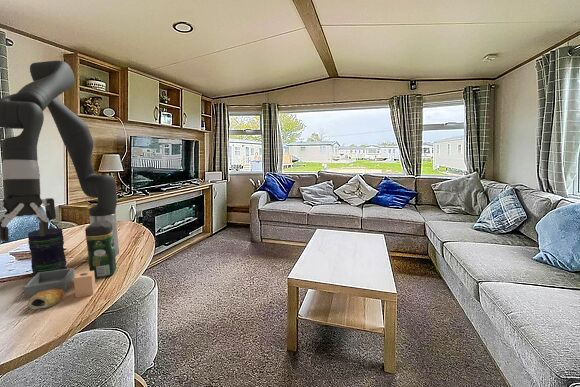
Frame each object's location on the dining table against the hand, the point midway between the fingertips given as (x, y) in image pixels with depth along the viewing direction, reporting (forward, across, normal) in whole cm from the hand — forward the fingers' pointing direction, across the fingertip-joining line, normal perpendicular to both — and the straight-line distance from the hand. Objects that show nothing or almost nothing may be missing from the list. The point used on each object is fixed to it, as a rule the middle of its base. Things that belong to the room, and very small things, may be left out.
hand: (24, 238), depth 84 cm
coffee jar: (+18, -26, -8) cm, 32 cm away
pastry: (+20, -6, -2) cm, 21 cm away
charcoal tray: (+18, -12, -12) cm, 25 cm away
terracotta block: (+19, -14, +2) cm, 24 cm away
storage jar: (+17, -18, -26) cm, 36 cm away
